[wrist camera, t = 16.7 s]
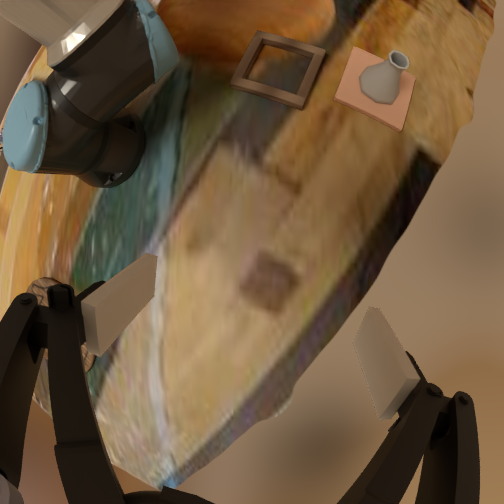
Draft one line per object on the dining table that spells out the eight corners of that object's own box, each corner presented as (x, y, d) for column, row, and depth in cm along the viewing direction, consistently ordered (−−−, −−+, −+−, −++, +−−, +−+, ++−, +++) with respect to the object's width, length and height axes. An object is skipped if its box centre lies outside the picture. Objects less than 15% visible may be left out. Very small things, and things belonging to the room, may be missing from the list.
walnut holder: (231, 88, 39) (229, 83, 37) (258, 36, 37) (257, 30, 35) (301, 110, 38) (302, 106, 37) (324, 55, 36) (325, 50, 34)
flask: (362, 61, 34) (378, 31, 25) (400, 78, 34) (424, 53, 24) (354, 94, 36) (371, 67, 26) (394, 112, 35) (420, 90, 26)
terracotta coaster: (333, 100, 38) (334, 97, 36) (352, 49, 35) (353, 46, 34) (399, 132, 37) (401, 130, 36) (412, 79, 35) (415, 77, 34)
